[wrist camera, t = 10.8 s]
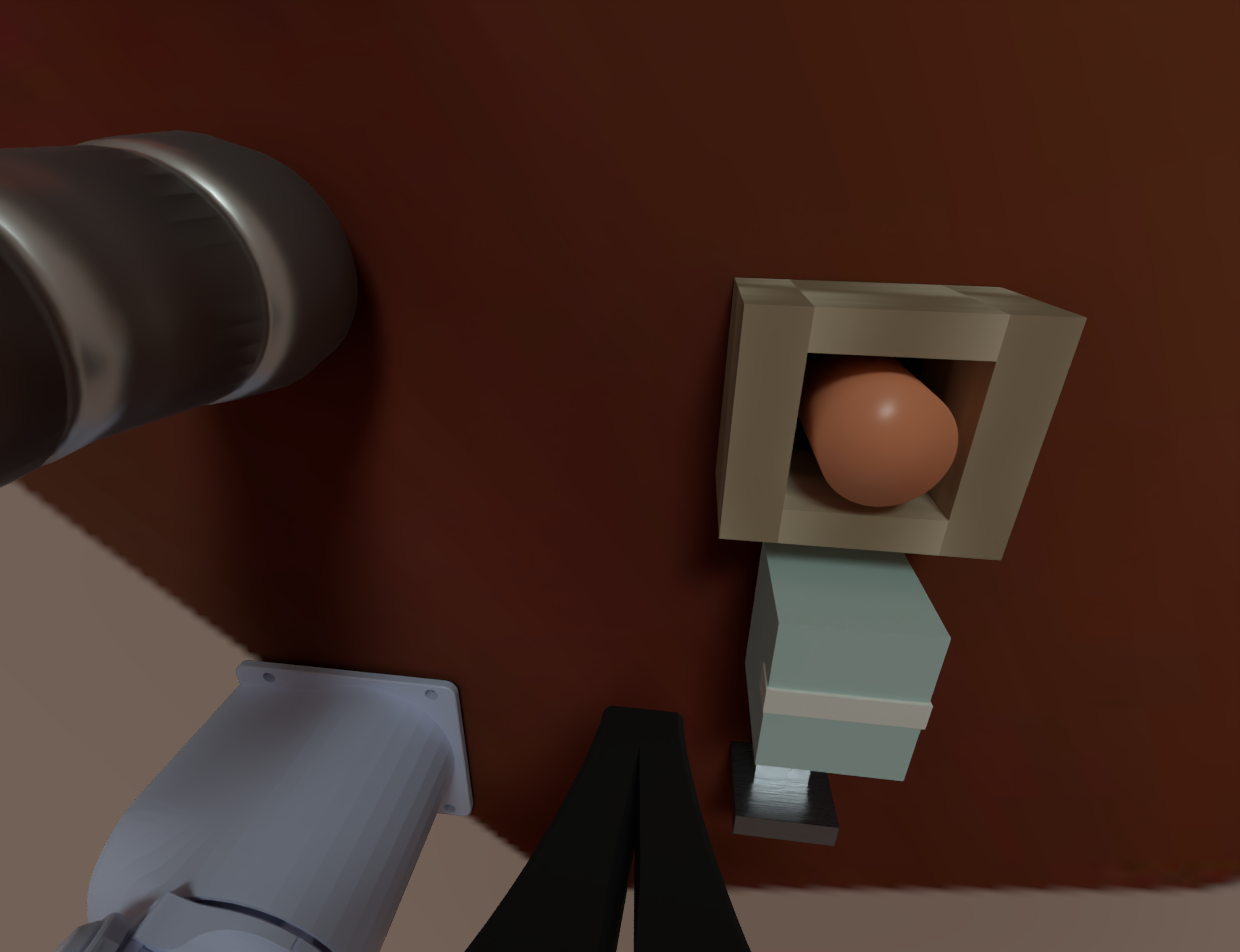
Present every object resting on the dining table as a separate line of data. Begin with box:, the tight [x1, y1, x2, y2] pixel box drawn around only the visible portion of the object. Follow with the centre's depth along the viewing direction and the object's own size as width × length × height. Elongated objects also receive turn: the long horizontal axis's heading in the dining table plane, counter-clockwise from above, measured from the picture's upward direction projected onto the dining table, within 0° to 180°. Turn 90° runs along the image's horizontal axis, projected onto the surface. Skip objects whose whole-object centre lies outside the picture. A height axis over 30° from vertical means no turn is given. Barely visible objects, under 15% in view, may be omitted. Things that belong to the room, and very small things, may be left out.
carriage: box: [745, 542, 951, 781], centre depth 17 cm, size 4×5×4 cm
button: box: [798, 353, 958, 507], centre depth 16 cm, size 3×3×4 cm
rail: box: [729, 740, 839, 846], centre depth 21 cm, size 4×13×3 cm, turn 179°
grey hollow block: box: [715, 278, 1087, 560], centre depth 16 cm, size 7×6×4 cm
